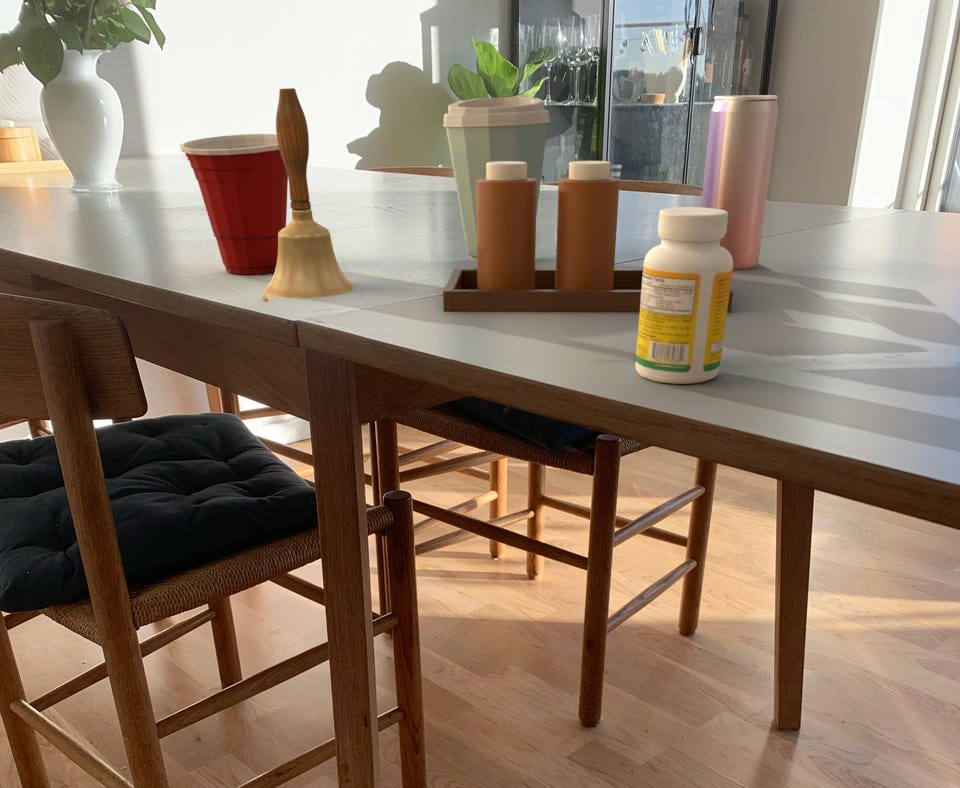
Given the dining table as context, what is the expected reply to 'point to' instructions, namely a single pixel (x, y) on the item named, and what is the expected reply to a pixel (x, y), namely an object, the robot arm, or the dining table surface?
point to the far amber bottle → (506, 227)
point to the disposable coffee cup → (492, 146)
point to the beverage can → (740, 170)
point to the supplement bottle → (684, 297)
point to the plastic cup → (242, 197)
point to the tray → (545, 295)
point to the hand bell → (301, 219)
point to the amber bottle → (586, 227)
